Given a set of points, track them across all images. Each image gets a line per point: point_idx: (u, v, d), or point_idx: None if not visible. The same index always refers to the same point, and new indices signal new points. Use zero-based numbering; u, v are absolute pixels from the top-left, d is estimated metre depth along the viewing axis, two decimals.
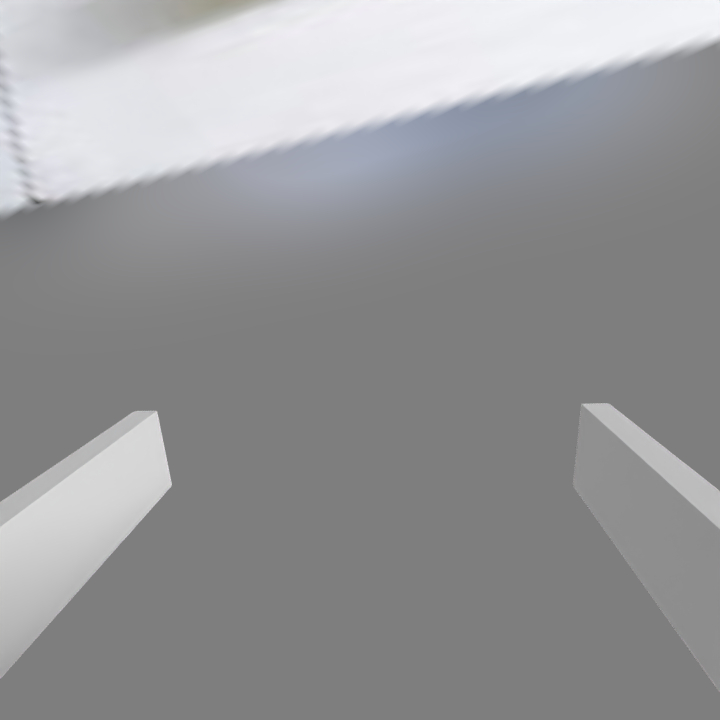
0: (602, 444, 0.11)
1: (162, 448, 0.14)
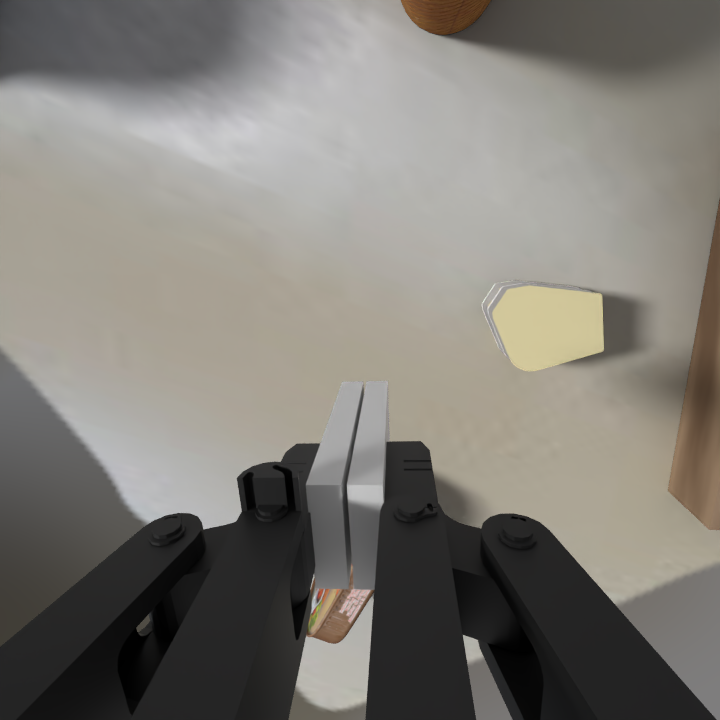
0: None
1: None
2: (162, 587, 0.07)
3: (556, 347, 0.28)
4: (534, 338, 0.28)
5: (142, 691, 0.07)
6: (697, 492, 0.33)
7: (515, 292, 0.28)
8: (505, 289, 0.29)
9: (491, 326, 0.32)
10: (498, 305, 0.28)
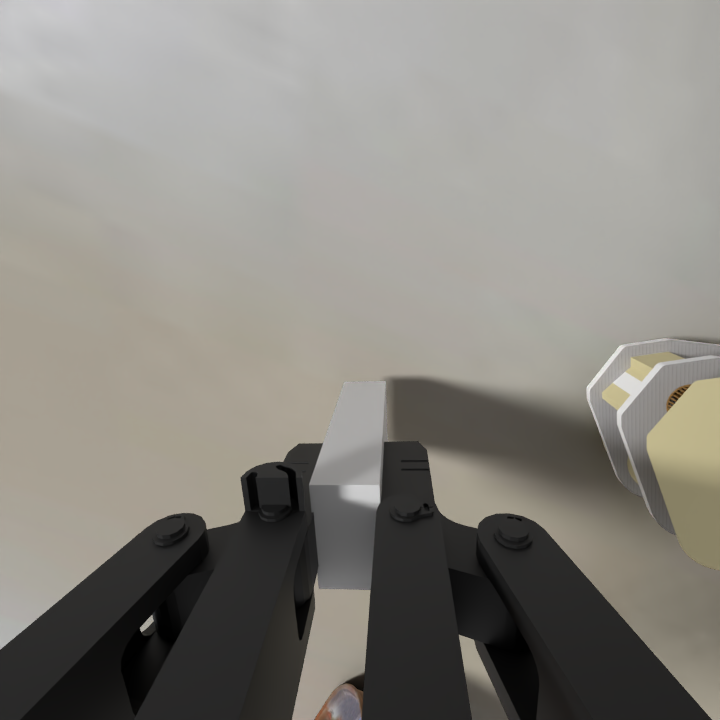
0: None
1: None
2: (166, 587, 0.07)
3: None
4: None
5: (146, 691, 0.07)
6: None
7: (716, 390, 0.10)
8: (669, 371, 0.12)
9: (606, 436, 0.14)
10: (665, 420, 0.11)
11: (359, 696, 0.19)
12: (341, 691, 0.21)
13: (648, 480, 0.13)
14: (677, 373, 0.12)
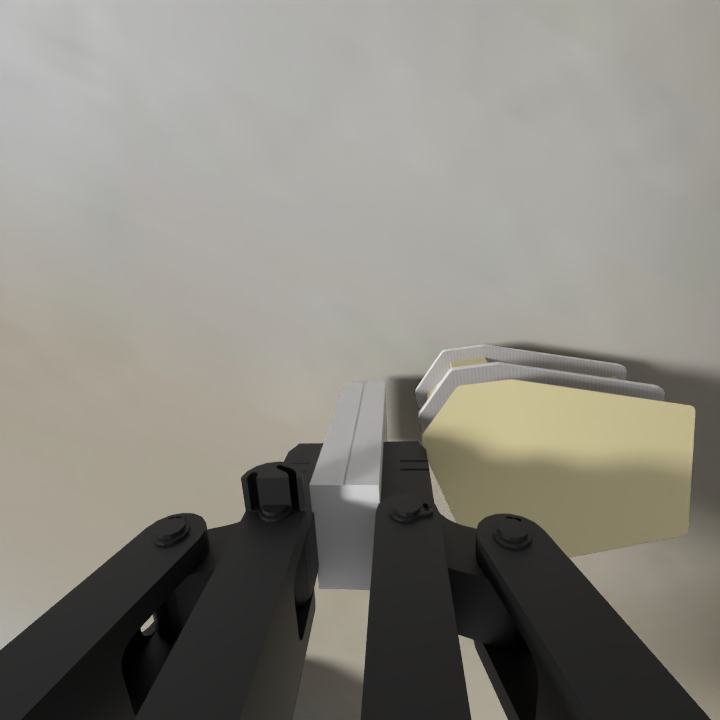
0: None
1: None
2: (166, 587, 0.07)
3: (574, 521, 0.12)
4: (522, 499, 0.12)
5: (146, 691, 0.07)
6: None
7: (478, 395, 0.11)
8: (457, 376, 0.12)
9: None
10: (436, 422, 0.11)
11: None
12: None
13: None
14: (465, 378, 0.12)
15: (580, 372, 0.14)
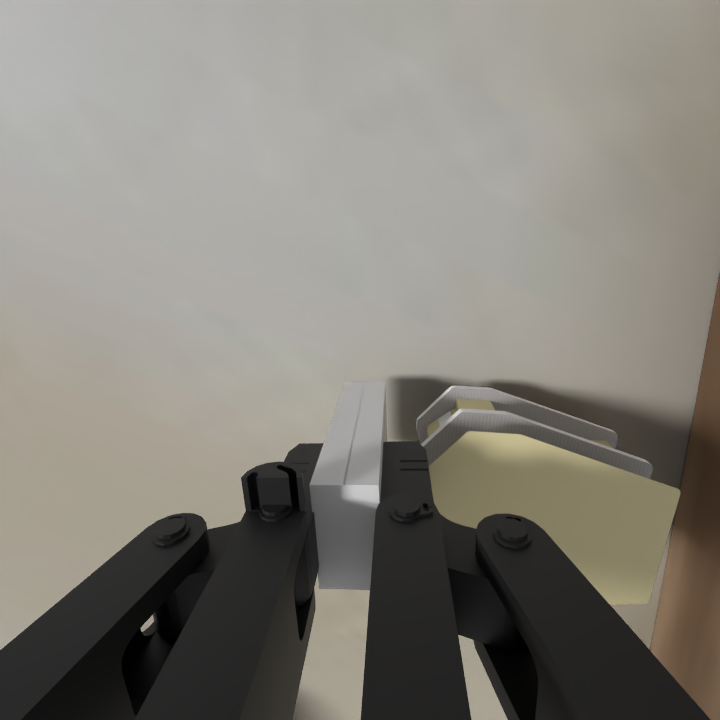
0: None
1: None
2: (166, 587, 0.07)
3: None
4: None
5: (146, 691, 0.07)
6: None
7: (485, 443, 0.11)
8: (466, 418, 0.13)
9: None
10: (440, 460, 0.12)
11: None
12: None
13: None
14: (472, 421, 0.13)
15: (575, 431, 0.15)
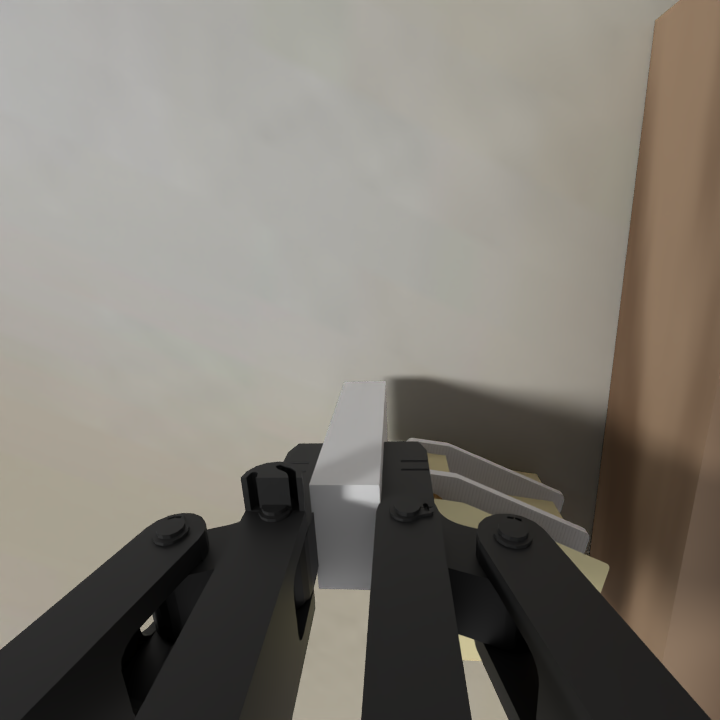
0: None
1: None
2: (166, 587, 0.07)
3: None
4: None
5: (146, 691, 0.07)
6: None
7: None
8: None
9: None
10: None
11: None
12: None
13: None
14: None
15: (525, 490, 0.15)
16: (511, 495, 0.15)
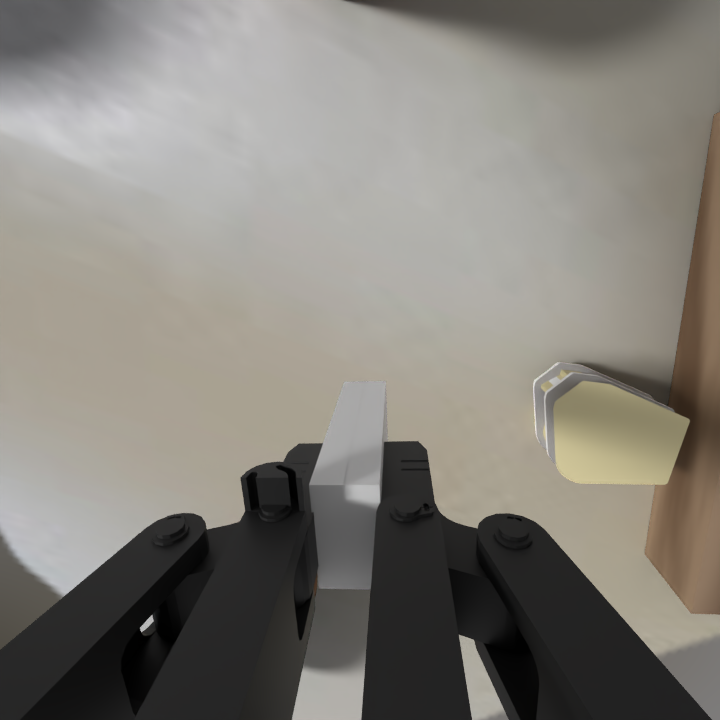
0: None
1: None
2: (166, 587, 0.07)
3: (614, 464, 0.23)
4: (593, 446, 0.23)
5: (146, 691, 0.07)
6: (677, 564, 0.26)
7: (591, 388, 0.22)
8: (575, 377, 0.23)
9: (537, 409, 0.26)
10: (565, 396, 0.22)
11: None
12: None
13: (550, 431, 0.24)
14: (578, 379, 0.23)
15: None
16: None
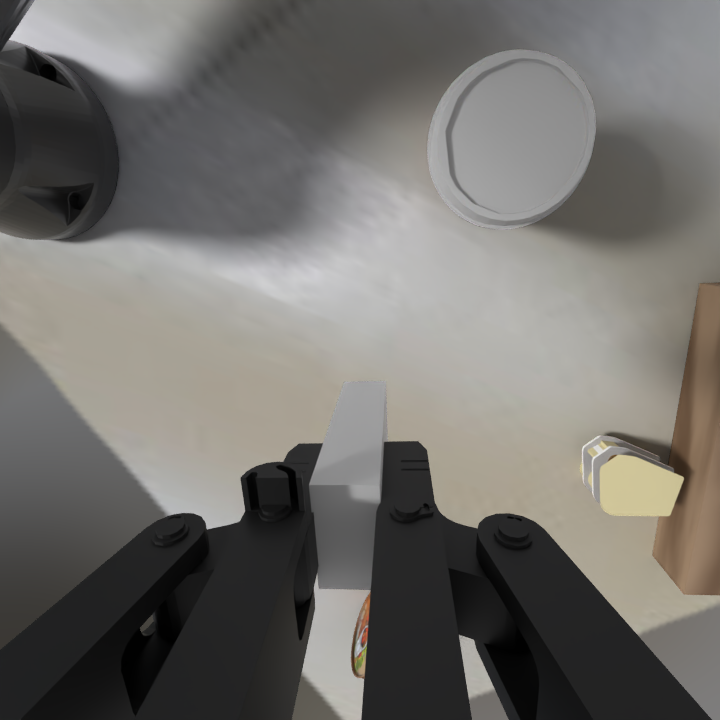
0: None
1: None
2: (166, 587, 0.07)
3: (637, 504, 0.37)
4: (623, 493, 0.36)
5: (146, 691, 0.07)
6: (675, 562, 0.40)
7: (623, 458, 0.36)
8: (612, 449, 0.37)
9: (584, 465, 0.40)
10: (607, 463, 0.36)
11: None
12: None
13: (595, 482, 0.38)
14: (614, 450, 0.37)
15: (644, 455, 0.39)
16: None
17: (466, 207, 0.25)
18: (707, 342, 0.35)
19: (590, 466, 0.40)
